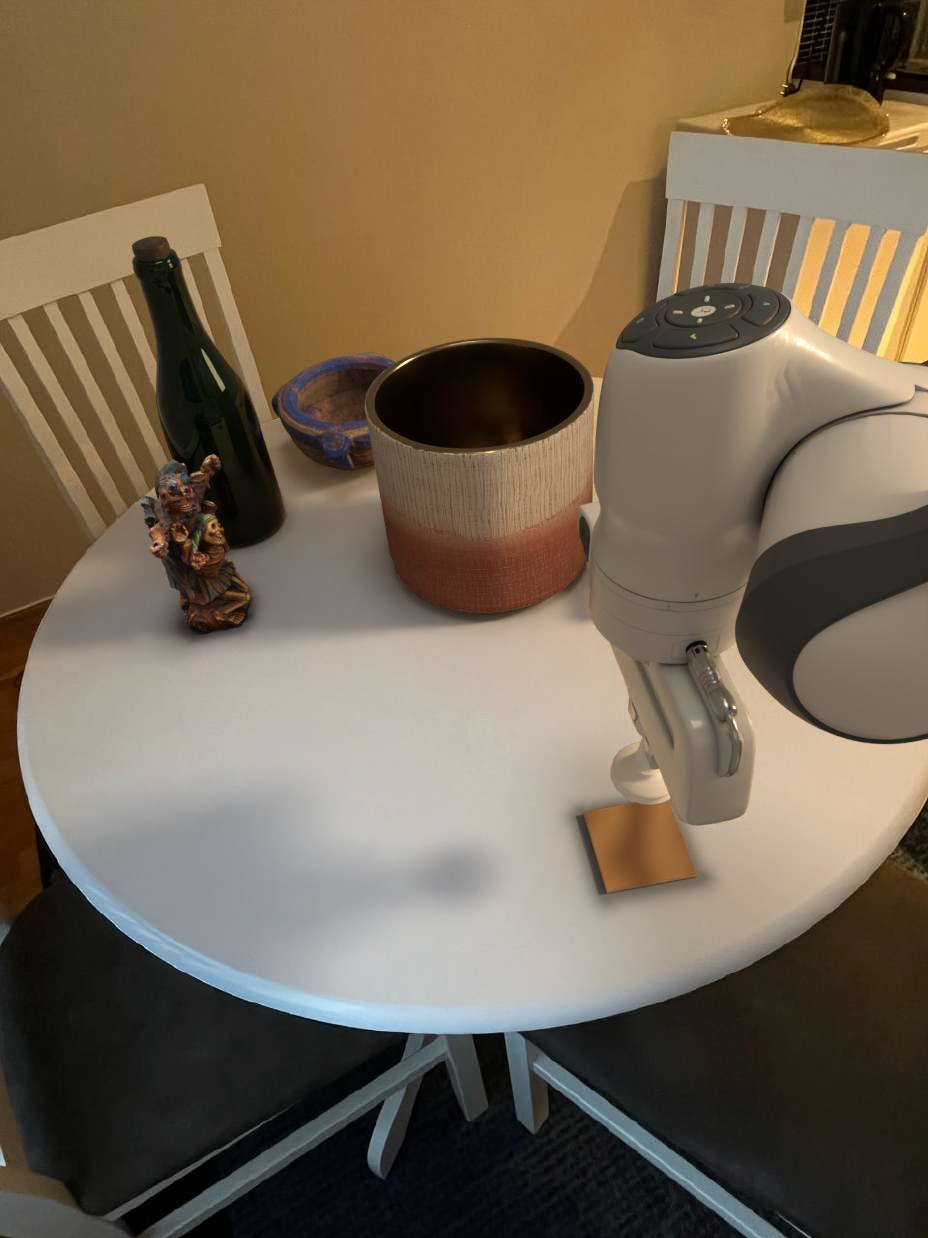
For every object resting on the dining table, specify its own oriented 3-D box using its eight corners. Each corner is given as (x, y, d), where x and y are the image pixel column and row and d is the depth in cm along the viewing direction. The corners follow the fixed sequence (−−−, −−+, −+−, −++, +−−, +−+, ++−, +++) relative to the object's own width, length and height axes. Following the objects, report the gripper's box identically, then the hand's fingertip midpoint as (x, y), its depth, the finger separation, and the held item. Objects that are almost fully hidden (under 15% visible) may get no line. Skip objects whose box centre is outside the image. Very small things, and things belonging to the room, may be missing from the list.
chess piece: (638, 735, 61) (648, 641, 54) (695, 773, 59) (713, 679, 52) (595, 777, 59) (601, 684, 52) (653, 818, 56) (666, 726, 49)
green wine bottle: (234, 489, 105) (142, 216, 82) (303, 505, 102) (227, 223, 79) (182, 539, 99) (66, 257, 76) (254, 558, 95) (155, 267, 72)
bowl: (324, 512, 100) (306, 441, 93) (273, 445, 112) (254, 378, 105) (454, 462, 106) (446, 391, 99) (392, 403, 117) (382, 336, 110)
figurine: (284, 628, 86) (237, 485, 74) (198, 661, 84) (135, 519, 71) (255, 570, 93) (208, 431, 81) (175, 599, 91) (114, 460, 78)
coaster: (666, 799, 68) (667, 796, 68) (696, 876, 63) (697, 874, 63) (583, 814, 68) (583, 811, 67) (606, 893, 63) (606, 891, 62)
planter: (629, 579, 87) (642, 410, 73) (434, 650, 82) (408, 482, 68) (536, 474, 102) (532, 316, 88) (366, 528, 97) (333, 370, 83)
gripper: (807, 720, 39) (758, 869, 49) (666, 476, 54) (649, 627, 63) (677, 744, 39) (654, 888, 48) (570, 491, 53) (568, 641, 63)
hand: (650, 738), depth 56 cm, fingers closed on chess piece
